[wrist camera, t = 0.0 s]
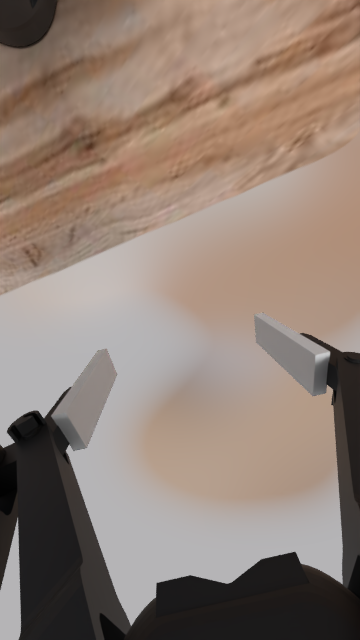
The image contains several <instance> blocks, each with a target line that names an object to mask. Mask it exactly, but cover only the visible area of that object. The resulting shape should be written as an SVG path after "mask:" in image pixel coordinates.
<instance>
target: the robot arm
mask: <svg viewBox="0 0 360 640" xmlns="http://www.w3.org/2000/svg"><path fill="white" fill-rule="evenodd" d="M55 7H56V0H0V42H2V43H4V44H7V45H11V46H26V45H29V44H32V43H34V42H36V41H37V40H39V39H40V38H41V37H42V36H43V35H44V34H45V32H46V31H47V29H48V28H49V26H50V24H51V22H52V19H53V16H54V12H55ZM254 319H255V332H256V343H257V344H259V345H260V346H261V347H262V348H263V349H264V350H265V351H266V352H267V353H268V354H269V355H270V356H271V357H272V358H273V359H274V360H275V361H276V362H277V363H279V364H280V365H281V366H282V367H283V368H284V369H285V370H286V371H287V372H288V373H289V374H290V375H291V376H292V377H293V378H294V379H295V380H296V381H297V382H298V383H299V384H300V385H302V386H303V387H304V388H305V389H306V390H307V391H308V392H309V393H310V394H311V395H312V396H316V395H320V394H325V393H326V388H327V385H328V386H330V387H331V388H332V389H333V396H332V404H331V405H333V406H334V422H335V437H336V452H337V465H338V480H339V495H340V511H341V526H342V541H343V559H342V576H343V585H342V584H341V583H340V582H338V581H336V580H335V579H334V578H332V577H331V576H329V575H327V574H325V573H324V572H322V571H320V570H318V569H315V568H313V567H310V566H308V565H303V564H301V563H300V561H299V559H298V557H297V554H296V552H292V553H288V554H284V555H279V556H274V557H270V558H265V559H262V560H260V561H259V562H257V563H256V564H255V565H254V566H252V567H251V568H250V569H248V570H247V571H246V572H245V573H243V574H242V575H241V576H239V577H238V578H237V579H236V580H235V581H233V582H232V583H229V584H225V583H221V582H217V581H212V580H208V579H203V578H199V577H195V576H191V575H190V576H186V577H181V578H177V579H173V580H168V581H164V582H160V583H157V588H156V598H155V599H153V600H152V601H151V602H150V603H149V604H148V605H147V606H146V607H145V608H144V610H143V611H142V612H141V613H140V615H139V616H138V617H137V618H136V620H135V622H134V623H133V625H132V626H131V625H130V623H129V620H128V618H127V616H126V613H125V612H124V610H123V608H122V606H121V604H120V602H119V599H118V597H117V595H116V592H115V589H114V586H113V583H112V581H111V578H110V575H109V572H108V569H107V566H106V563H105V560H104V557H103V555H102V552H101V549H100V546H99V543H98V540H97V537H96V534H95V531H94V529H93V526H92V523H91V520H90V517H89V514H88V511H87V508H86V506H85V502H84V500H83V497H82V494H81V491H80V488H79V485H78V482H77V479H76V476H75V474H74V471H73V468H72V465H71V462H70V459H69V456H68V454H67V453H66V449H67V447H68V445H69V444H70V446H71V447H72V449H73V451H75V450H80V449H84V448H87V446H88V444H89V441H90V439H91V437H92V434H93V431H94V429H95V427H96V425H97V422H98V420H99V417H100V415H101V412H102V410H103V408H104V405H105V403H106V400H107V398H108V395H109V393H110V391H111V388H112V386H113V383H114V381H115V378H116V376H117V373H116V370H115V368H114V366H113V363H112V361H111V358H110V356H109V353H108V351H107V349H103V350H99V351H97V353H96V354H95V355H94V357H93V358H92V360H91V361H90V362H89V364H88V365H87V367H86V368H85V369H84V371H83V372H82V373H81V375H80V376H79V378H78V379H77V380H76V382H75V383H74V385H73V386H72V387H70V388H69V389H67V390H66V391H65V392H64V393H63V394H62V395H61V397H60V398H59V400H58V401H57V402H56V404H55V405H54V406H53V407H52V409H51V410H50V411H49V413H48V414H47V415H46V417H45V418H43V417H42V416H41V414H40V413H39V411H31V412H28V413H26V414H24V415H23V416H21V417H20V418H18V419H17V420H16V421H14V422H13V423H12V424H11V425H10V427H9V428H8V430H7V433H8V434H9V435H10V436H11V438H12V439H13V440H14V442H15V443H13V444H11V445H9V446H7V447H5V448H3V447H2V446H1V445H0V589H1V584H2V581H3V577H4V572H5V568H6V564H7V560H8V556H9V552H10V547H11V543H12V539H13V535H14V531H15V526H16V522H17V518H18V526H19V528H18V529H19V561H20V563H19V564H20V600H21V634H20V637H19V640H360V353H355V352H341V351H339V350H337V349H335V348H334V347H332V346H330V345H328V344H326V343H324V342H323V341H321V340H318V339H317V338H315V337H313V336H312V335H308V334H304V333H300V334H299V333H297V332H295V331H294V330H292V329H290V328H289V327H287V326H285V325H283V324H282V323H280V322H278V321H276V320H275V319H273V318H271V317H269V316H268V315H266V314H264V313H259V314H255V315H254Z"/></svg>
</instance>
